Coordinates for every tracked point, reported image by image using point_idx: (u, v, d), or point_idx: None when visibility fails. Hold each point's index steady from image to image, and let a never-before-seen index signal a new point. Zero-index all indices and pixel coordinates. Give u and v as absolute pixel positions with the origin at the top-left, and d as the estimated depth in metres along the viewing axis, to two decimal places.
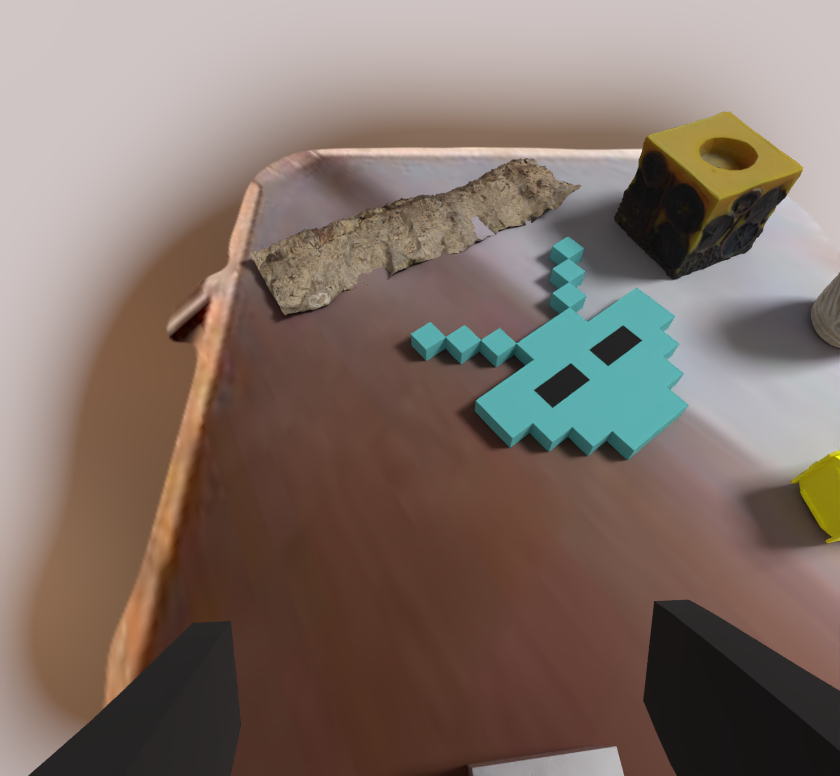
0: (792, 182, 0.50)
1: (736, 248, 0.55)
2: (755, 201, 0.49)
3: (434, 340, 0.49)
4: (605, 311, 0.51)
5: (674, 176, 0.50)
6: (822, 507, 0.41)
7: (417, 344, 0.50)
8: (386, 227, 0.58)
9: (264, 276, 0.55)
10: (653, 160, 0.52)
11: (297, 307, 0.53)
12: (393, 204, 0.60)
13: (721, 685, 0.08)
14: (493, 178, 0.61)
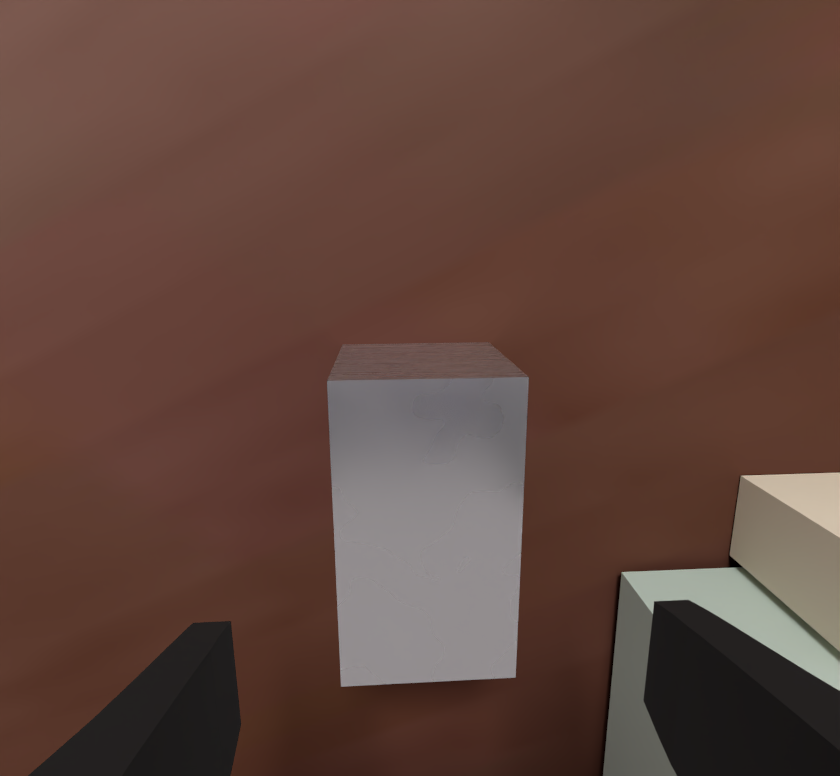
0: None
1: None
2: None
3: None
4: None
5: None
6: None
7: None
8: None
9: None
10: None
11: None
12: None
13: (721, 685, 0.08)
14: None
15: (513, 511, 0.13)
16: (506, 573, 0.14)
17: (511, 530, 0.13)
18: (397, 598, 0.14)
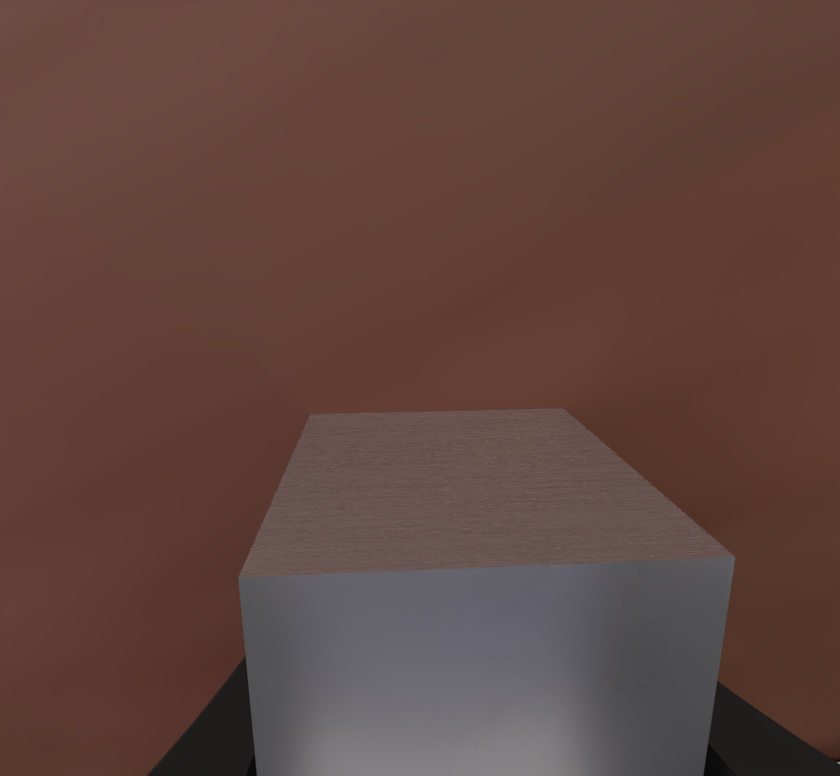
0: None
1: None
2: None
3: None
4: None
5: None
6: None
7: None
8: None
9: None
10: None
11: None
12: None
13: None
14: None
15: None
16: None
17: None
18: None
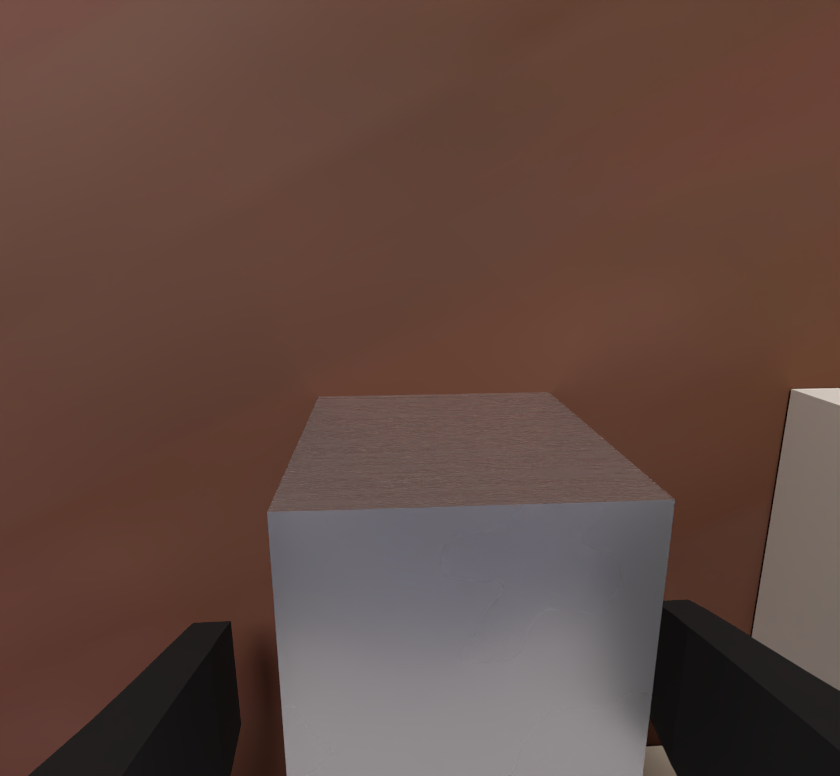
0: None
1: None
2: None
3: None
4: None
5: None
6: None
7: None
8: None
9: None
10: None
11: None
12: None
13: (721, 685, 0.08)
14: None
15: (629, 741, 0.07)
16: None
17: (623, 772, 0.07)
18: None
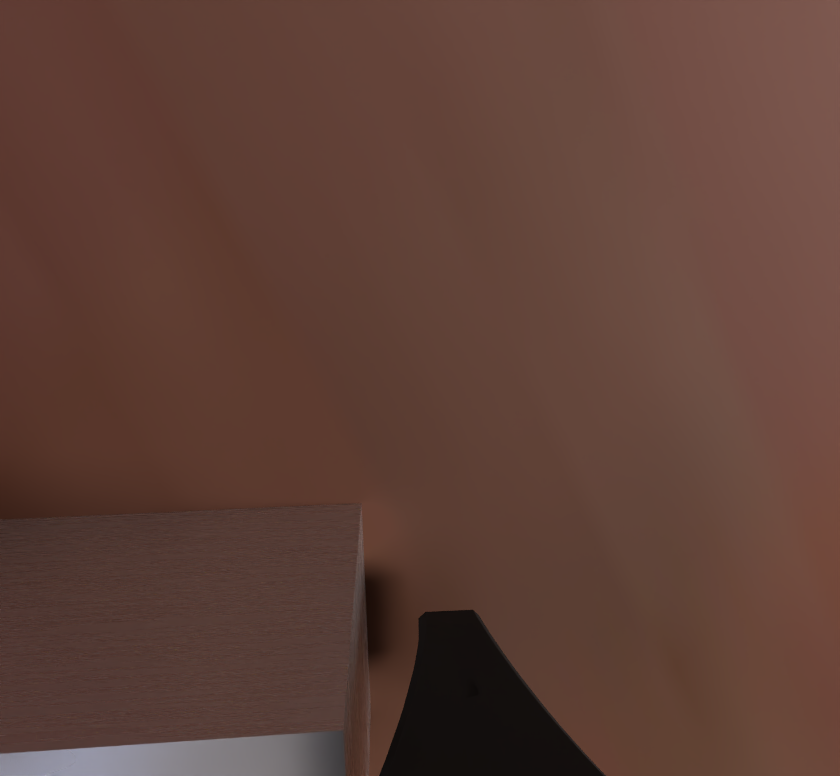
0: None
1: None
2: None
3: None
4: None
5: None
6: None
7: None
8: None
9: None
10: None
11: None
12: None
13: None
14: None
15: None
16: None
17: None
18: None
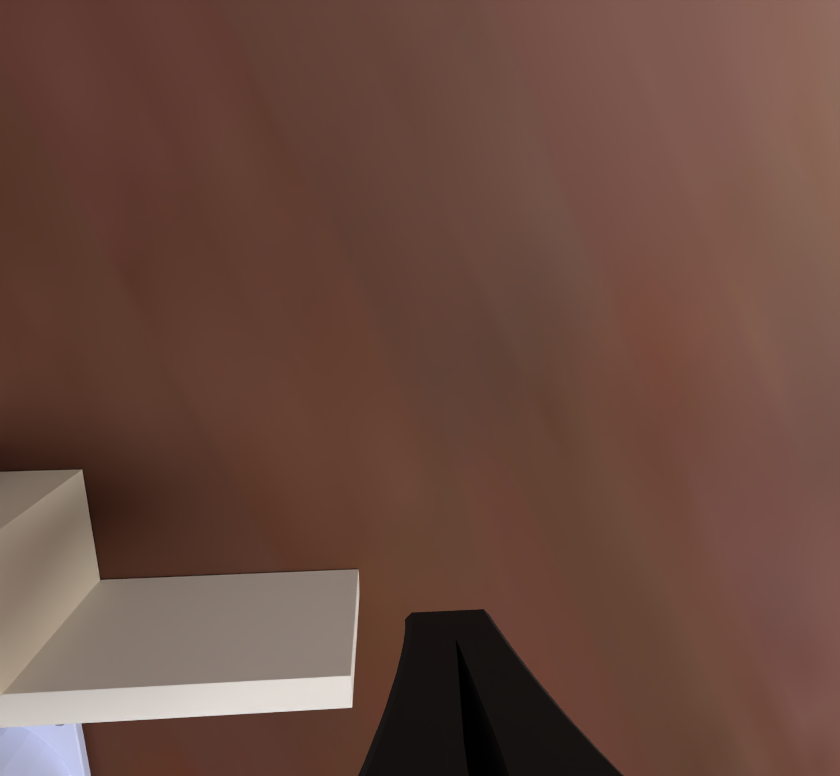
0: None
1: None
2: None
3: None
4: None
5: None
6: None
7: None
8: None
9: None
10: None
11: None
12: None
13: (468, 700, 0.07)
14: None
15: None
16: None
17: None
18: None
